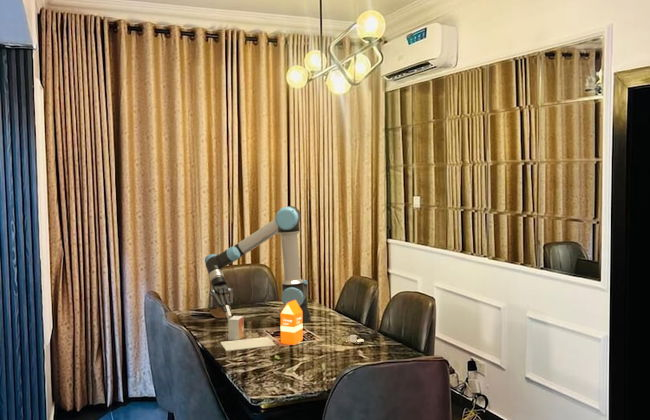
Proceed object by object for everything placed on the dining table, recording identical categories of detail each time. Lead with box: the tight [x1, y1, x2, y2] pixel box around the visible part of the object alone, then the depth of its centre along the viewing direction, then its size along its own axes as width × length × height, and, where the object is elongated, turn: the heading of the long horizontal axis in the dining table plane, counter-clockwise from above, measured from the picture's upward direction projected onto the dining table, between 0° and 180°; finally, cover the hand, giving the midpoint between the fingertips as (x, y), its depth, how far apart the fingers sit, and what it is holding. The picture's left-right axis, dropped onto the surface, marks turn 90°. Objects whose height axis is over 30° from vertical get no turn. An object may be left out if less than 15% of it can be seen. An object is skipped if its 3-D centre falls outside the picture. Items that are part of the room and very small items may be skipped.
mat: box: [219, 336, 277, 352], centre depth 277 cm, size 24×15×1 cm, turn 111°
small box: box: [227, 315, 245, 341], centre depth 287 cm, size 8×6×10 cm
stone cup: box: [209, 290, 234, 319], centre depth 333 cm, size 15×12×15 cm
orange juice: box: [280, 300, 304, 346], centre depth 280 cm, size 8×9×20 cm
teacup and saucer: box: [347, 334, 365, 343], centre depth 278 cm, size 9×8×4 cm
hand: (229, 317), depth 294 cm, fingers closed
